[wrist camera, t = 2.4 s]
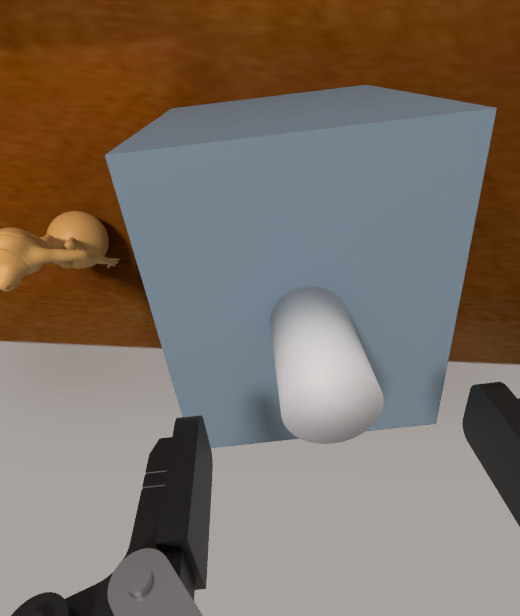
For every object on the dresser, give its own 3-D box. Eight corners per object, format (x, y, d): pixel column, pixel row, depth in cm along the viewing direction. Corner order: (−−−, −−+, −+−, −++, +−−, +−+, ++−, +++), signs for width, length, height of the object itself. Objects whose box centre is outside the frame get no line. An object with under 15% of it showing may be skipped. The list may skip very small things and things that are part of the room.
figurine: (33, 248, 30) (-73, 343, 20) (19, 166, 27) (-115, 230, 17) (144, 260, 31) (99, 357, 21) (144, 182, 28) (89, 252, 18)
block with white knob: (366, 84, 25) (628, 131, 8) (359, 284, 33) (488, 519, 16) (171, 108, 25) (38, 201, 9) (210, 301, 33) (180, 551, 16)
